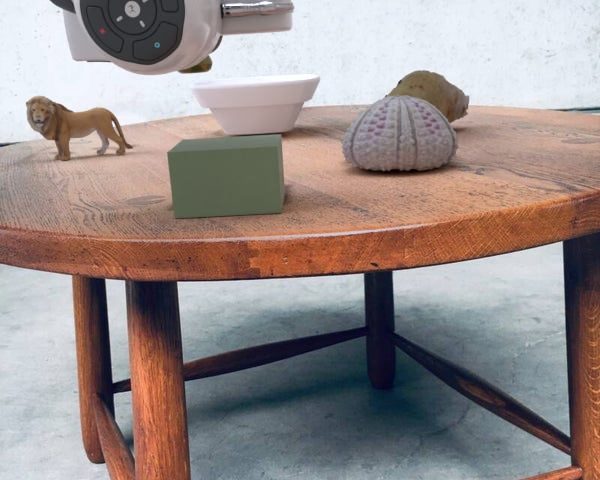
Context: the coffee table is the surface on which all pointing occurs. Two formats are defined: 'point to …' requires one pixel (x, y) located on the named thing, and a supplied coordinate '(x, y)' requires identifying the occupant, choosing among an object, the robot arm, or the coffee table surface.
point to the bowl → (256, 101)
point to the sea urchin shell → (400, 136)
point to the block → (227, 176)
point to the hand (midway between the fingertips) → (189, 17)
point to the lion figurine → (73, 125)
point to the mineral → (434, 93)
